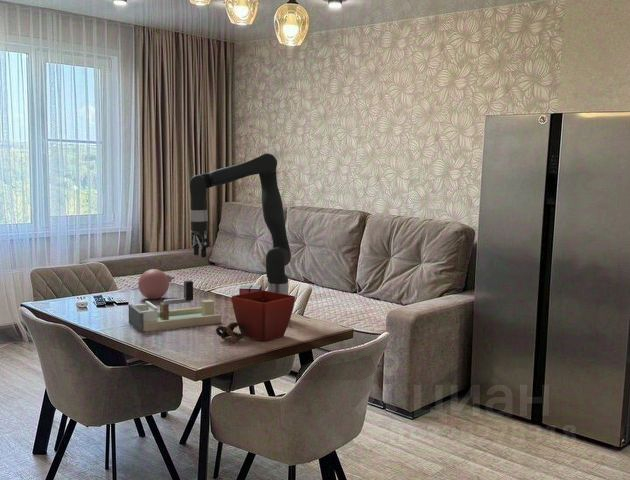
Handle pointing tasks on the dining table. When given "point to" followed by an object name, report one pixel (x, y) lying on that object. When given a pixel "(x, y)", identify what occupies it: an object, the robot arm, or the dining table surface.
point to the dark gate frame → (177, 300)
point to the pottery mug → (231, 332)
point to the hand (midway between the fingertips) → (199, 256)
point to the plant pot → (263, 313)
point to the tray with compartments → (171, 316)
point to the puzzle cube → (249, 289)
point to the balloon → (154, 283)
